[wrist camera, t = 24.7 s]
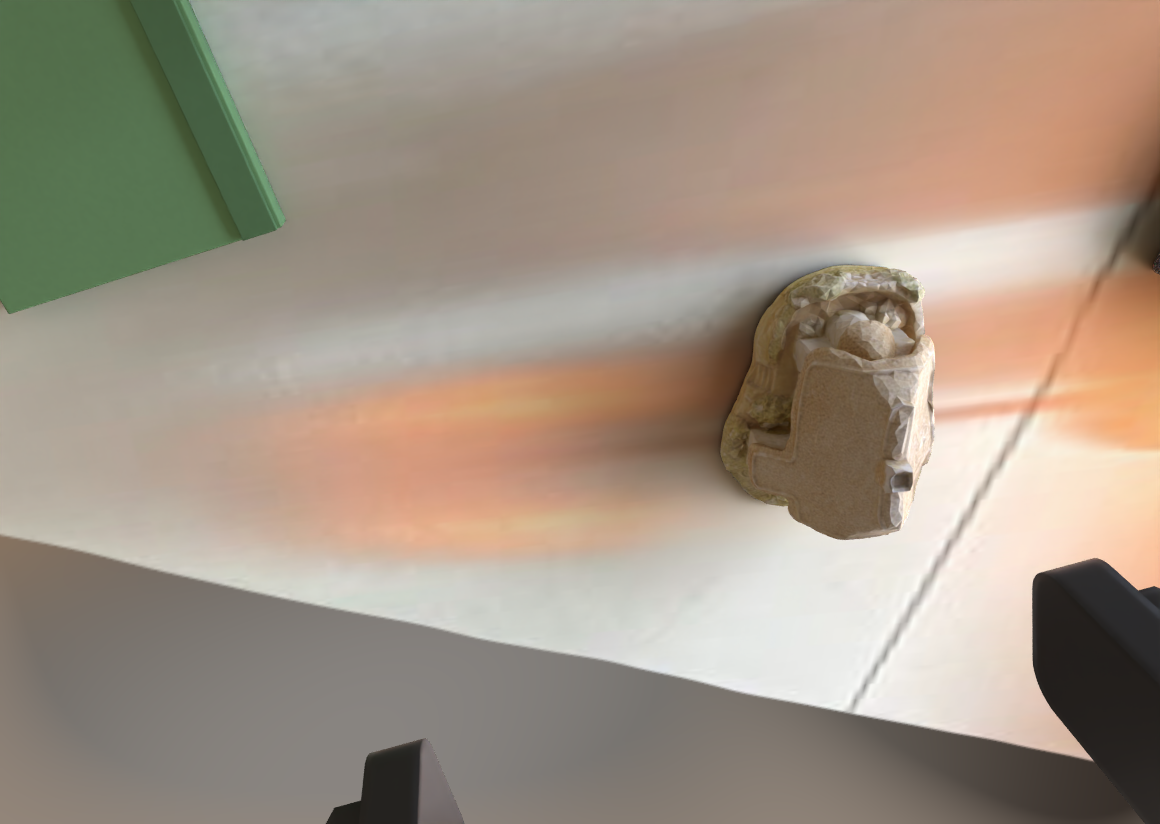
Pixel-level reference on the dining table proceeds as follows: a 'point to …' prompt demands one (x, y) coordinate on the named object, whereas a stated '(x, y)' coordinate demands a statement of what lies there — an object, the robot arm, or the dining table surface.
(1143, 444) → the dining table surface
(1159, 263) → the calculator
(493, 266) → the dining table surface
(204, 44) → the green flat rectangular block
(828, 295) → the ceramic model
